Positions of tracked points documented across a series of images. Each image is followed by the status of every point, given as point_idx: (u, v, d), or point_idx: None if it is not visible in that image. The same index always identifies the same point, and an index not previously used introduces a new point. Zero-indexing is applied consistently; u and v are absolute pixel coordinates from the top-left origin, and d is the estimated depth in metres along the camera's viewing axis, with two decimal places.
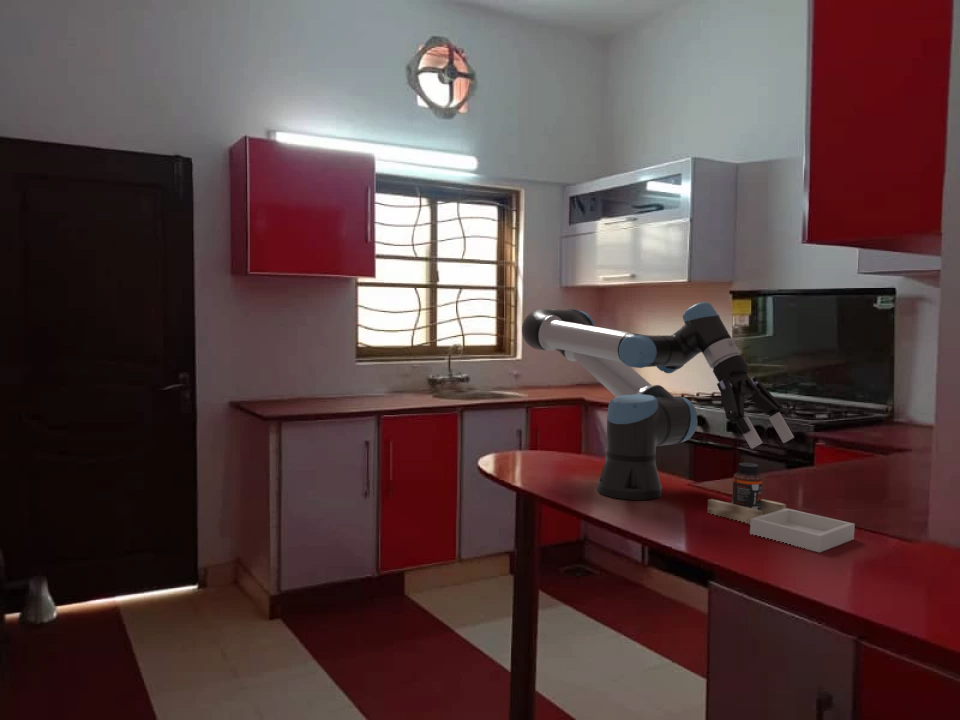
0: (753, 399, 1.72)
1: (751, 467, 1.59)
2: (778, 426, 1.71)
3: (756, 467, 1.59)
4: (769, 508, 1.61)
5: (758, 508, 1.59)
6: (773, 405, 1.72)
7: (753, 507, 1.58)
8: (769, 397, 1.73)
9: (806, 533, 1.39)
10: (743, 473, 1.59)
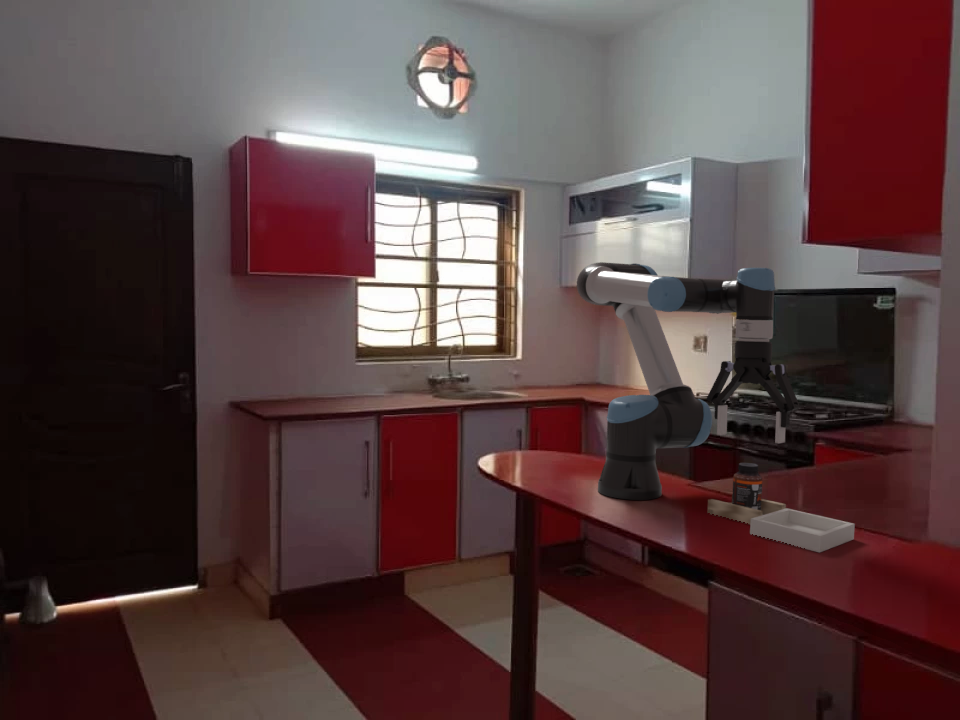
0: None
1: (751, 467, 1.59)
2: None
3: (756, 467, 1.59)
4: (769, 508, 1.61)
5: (758, 508, 1.59)
6: (778, 402, 1.54)
7: (753, 507, 1.58)
8: None
9: (806, 533, 1.39)
10: (743, 473, 1.59)
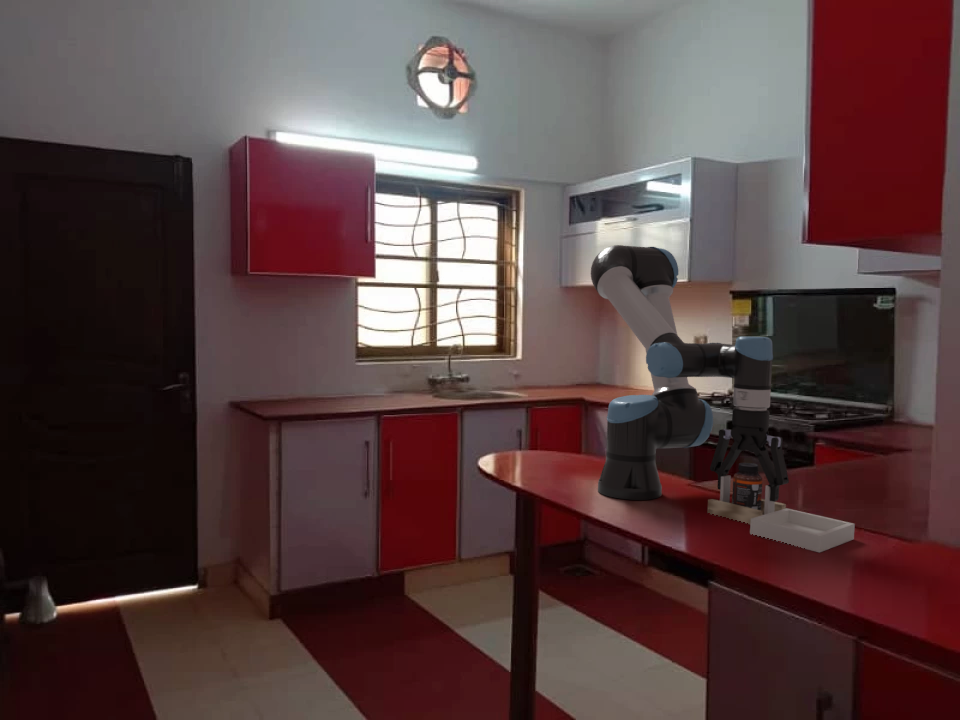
0: None
1: (751, 467, 1.59)
2: None
3: (756, 467, 1.59)
4: None
5: (758, 508, 1.59)
6: (769, 476, 1.56)
7: (753, 507, 1.58)
8: None
9: (806, 533, 1.39)
10: (743, 473, 1.59)
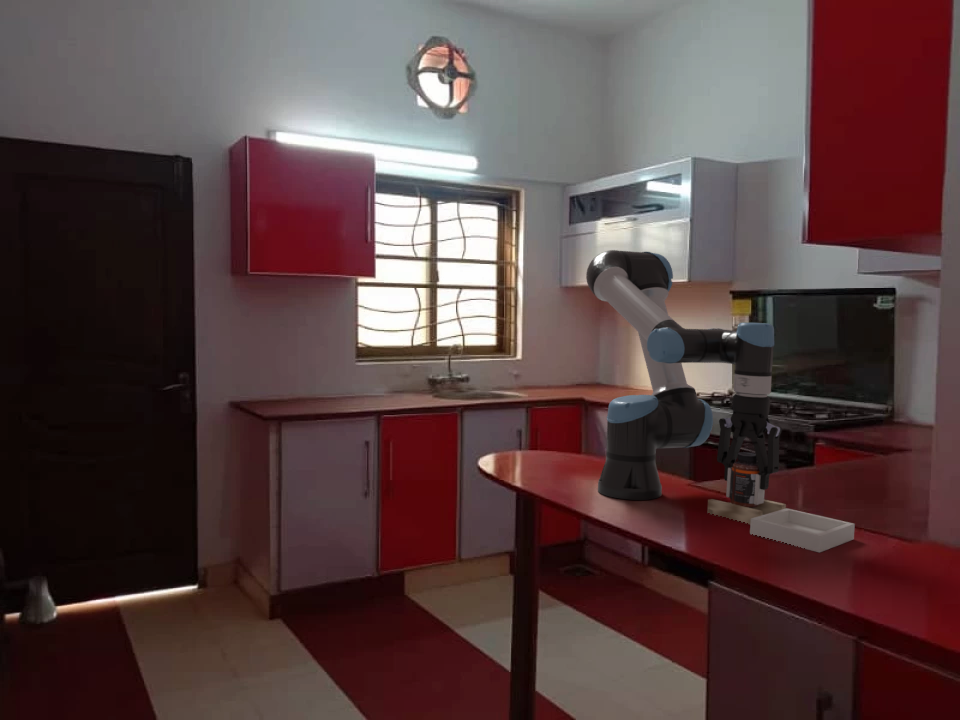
0: None
1: (750, 457, 1.59)
2: None
3: (755, 457, 1.59)
4: (769, 508, 1.61)
5: None
6: (761, 464, 1.57)
7: (752, 496, 1.59)
8: None
9: (806, 533, 1.39)
10: (742, 462, 1.60)
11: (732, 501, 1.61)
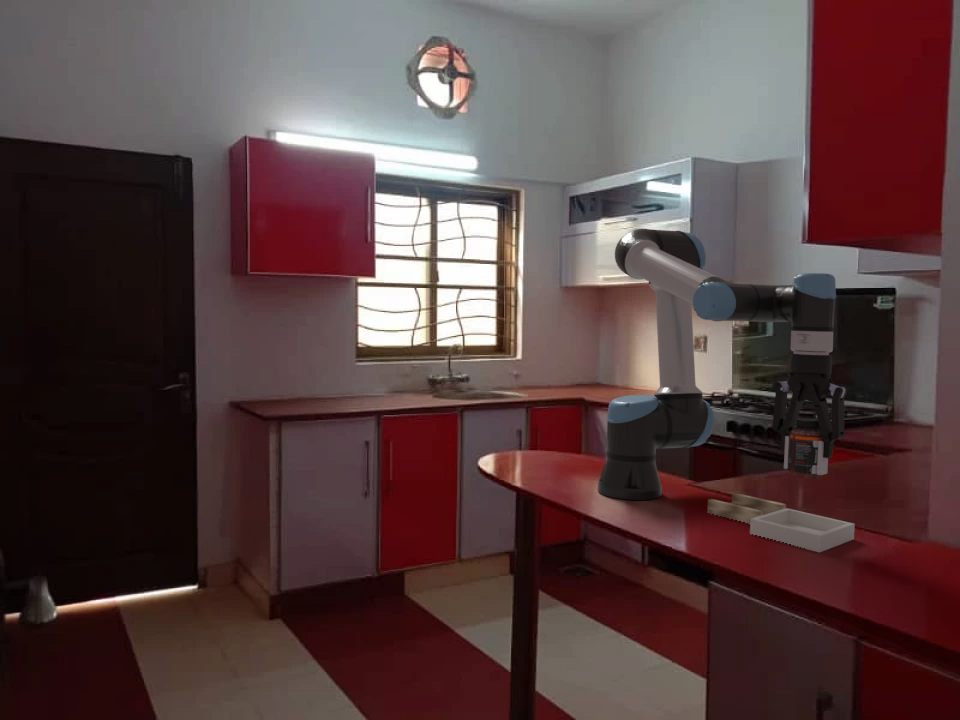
0: None
1: (811, 422, 1.43)
2: None
3: (817, 422, 1.44)
4: (769, 508, 1.61)
5: None
6: (824, 429, 1.41)
7: (814, 466, 1.43)
8: None
9: (806, 533, 1.39)
10: (802, 428, 1.44)
11: (791, 472, 1.45)
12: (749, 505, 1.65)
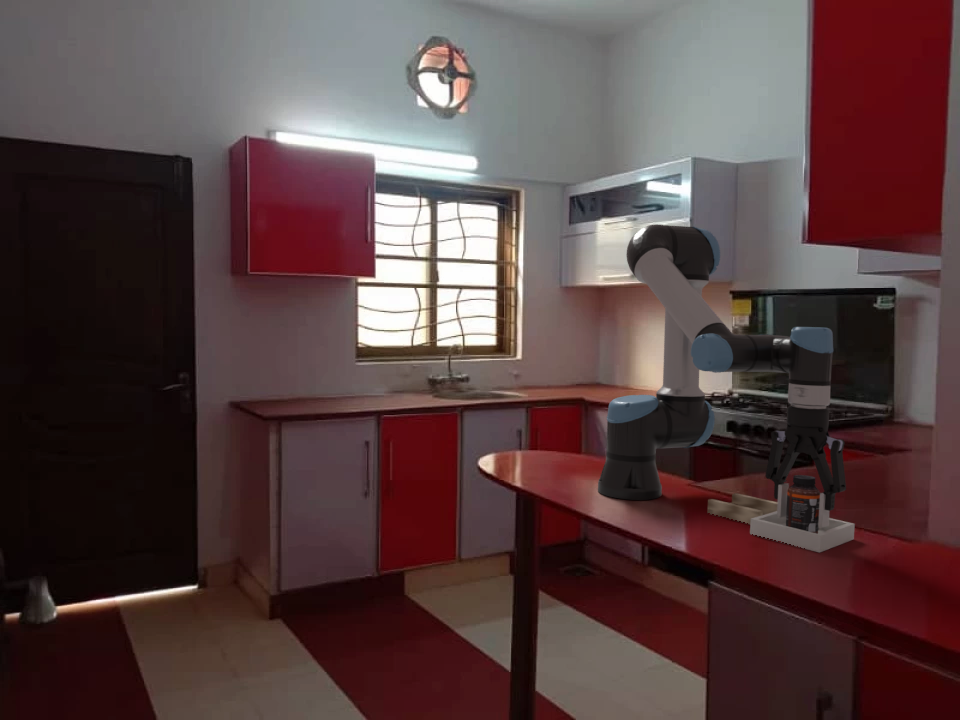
0: None
1: (808, 480, 1.44)
2: None
3: (813, 480, 1.45)
4: (769, 508, 1.61)
5: (816, 525, 1.44)
6: (825, 482, 1.41)
7: (811, 524, 1.43)
8: None
9: (806, 533, 1.39)
10: (799, 486, 1.45)
11: None
12: (749, 505, 1.65)
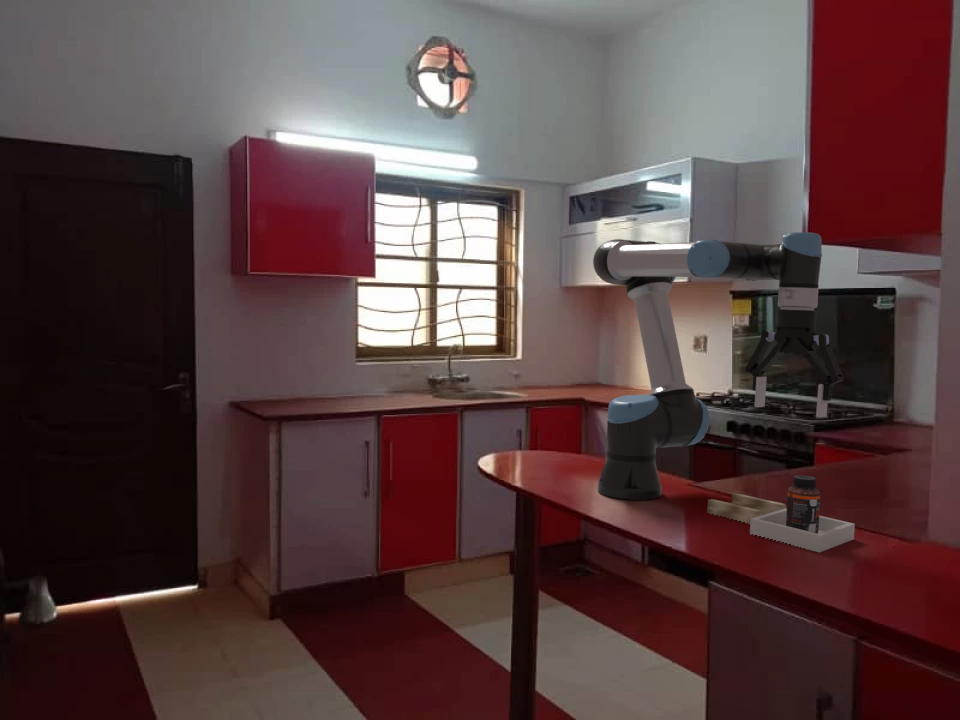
0: None
1: (808, 480, 1.44)
2: None
3: (814, 480, 1.44)
4: (769, 508, 1.61)
5: (816, 526, 1.44)
6: (821, 374, 1.47)
7: (811, 525, 1.43)
8: (826, 363, 1.47)
9: (806, 533, 1.39)
10: (799, 487, 1.45)
11: None
12: (749, 505, 1.65)
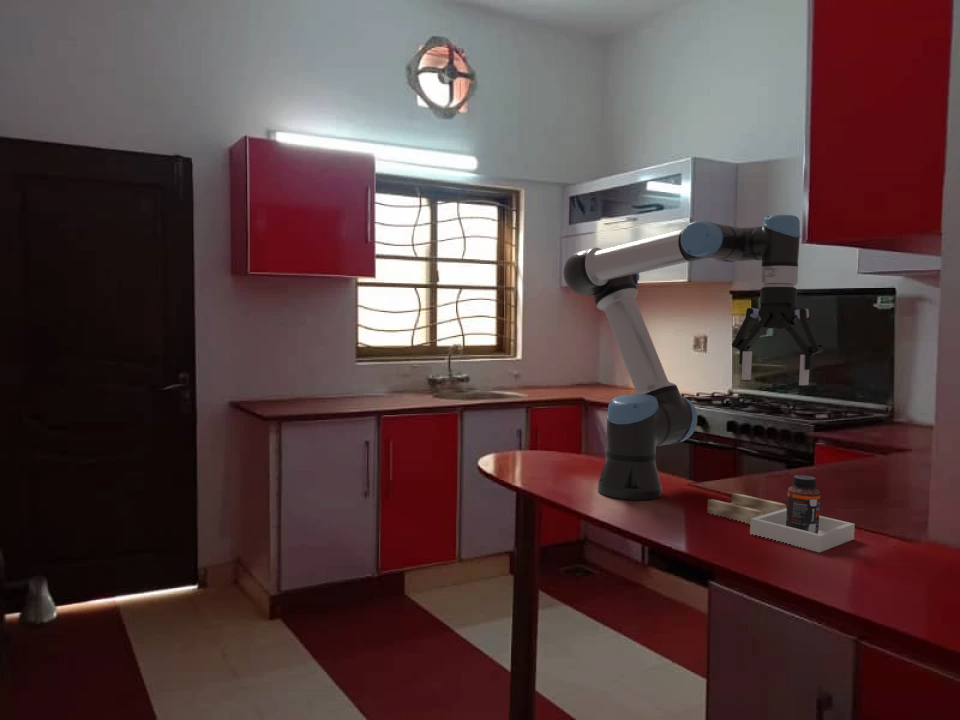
0: None
1: (808, 480, 1.44)
2: None
3: (814, 480, 1.44)
4: (769, 508, 1.61)
5: (816, 526, 1.44)
6: (803, 345, 1.59)
7: (811, 525, 1.43)
8: (807, 335, 1.58)
9: (806, 533, 1.39)
10: (799, 487, 1.45)
11: None
12: (749, 505, 1.65)
